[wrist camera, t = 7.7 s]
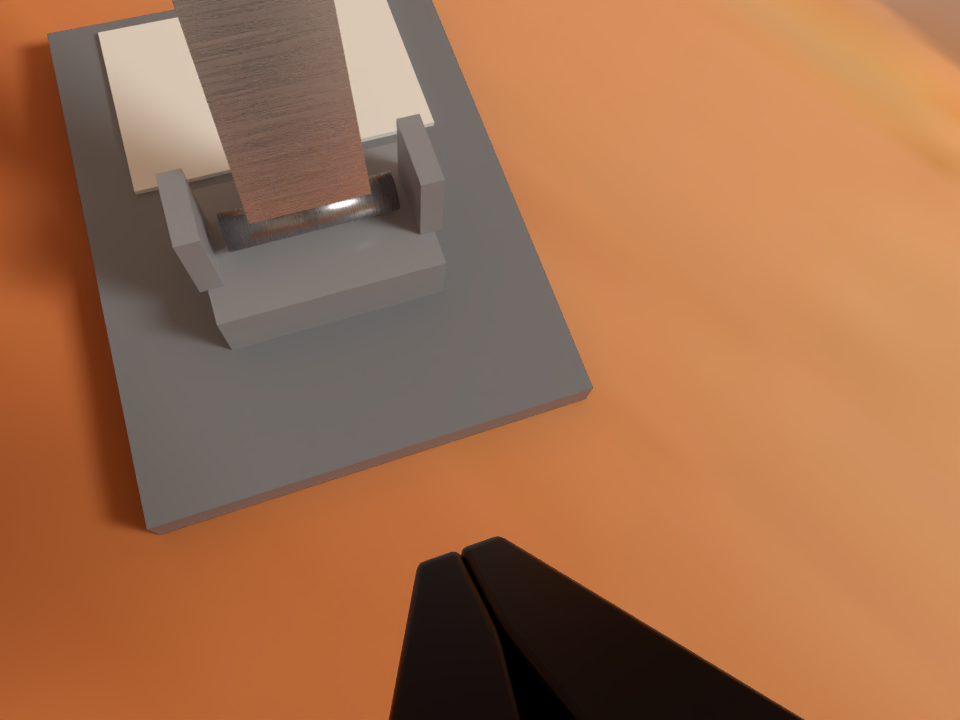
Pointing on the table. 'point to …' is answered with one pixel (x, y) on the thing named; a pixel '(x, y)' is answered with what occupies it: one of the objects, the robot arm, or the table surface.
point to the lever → (282, 117)
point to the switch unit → (303, 274)
